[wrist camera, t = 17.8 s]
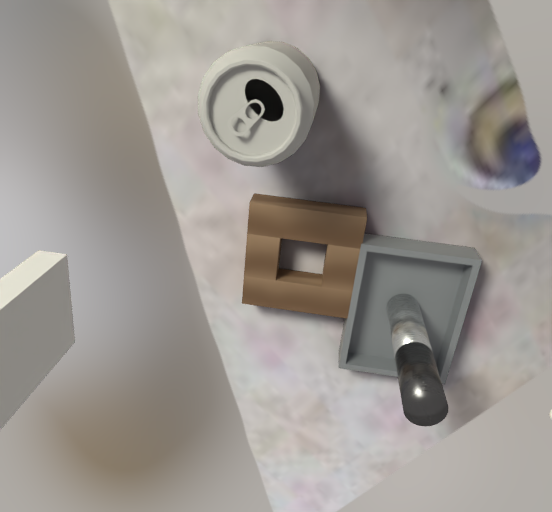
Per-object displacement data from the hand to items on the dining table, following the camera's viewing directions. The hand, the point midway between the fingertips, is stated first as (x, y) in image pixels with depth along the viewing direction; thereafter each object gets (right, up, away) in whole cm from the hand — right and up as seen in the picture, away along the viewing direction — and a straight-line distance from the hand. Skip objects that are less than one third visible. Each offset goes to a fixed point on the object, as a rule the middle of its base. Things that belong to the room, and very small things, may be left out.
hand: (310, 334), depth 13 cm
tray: (+11, -3, +35) cm, 37 cm away
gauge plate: (+2, +2, +34) cm, 34 cm away
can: (-1, +16, +28) cm, 32 cm away
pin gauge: (+11, -3, +34) cm, 36 cm away
